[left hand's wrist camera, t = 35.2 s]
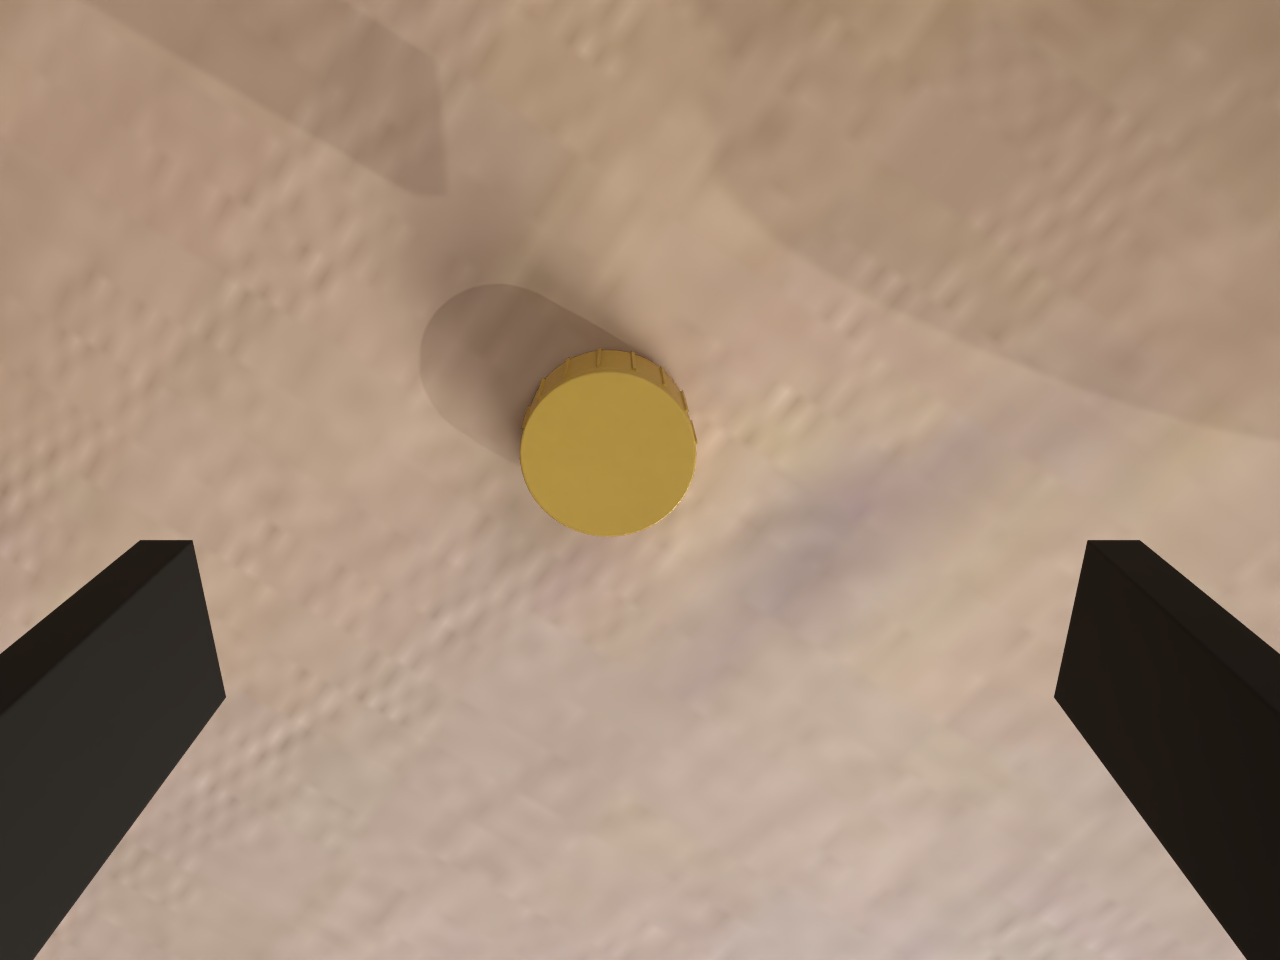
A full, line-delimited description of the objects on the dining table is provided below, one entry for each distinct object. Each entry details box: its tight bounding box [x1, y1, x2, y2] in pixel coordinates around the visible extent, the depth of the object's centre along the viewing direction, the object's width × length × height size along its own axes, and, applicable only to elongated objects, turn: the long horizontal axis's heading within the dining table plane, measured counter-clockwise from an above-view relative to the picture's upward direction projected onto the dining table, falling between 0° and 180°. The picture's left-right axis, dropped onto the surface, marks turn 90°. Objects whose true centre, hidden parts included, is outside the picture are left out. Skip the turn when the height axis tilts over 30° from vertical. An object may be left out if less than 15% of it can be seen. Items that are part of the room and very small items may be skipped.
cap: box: [520, 348, 697, 536], centre depth 20 cm, size 4×4×2 cm
